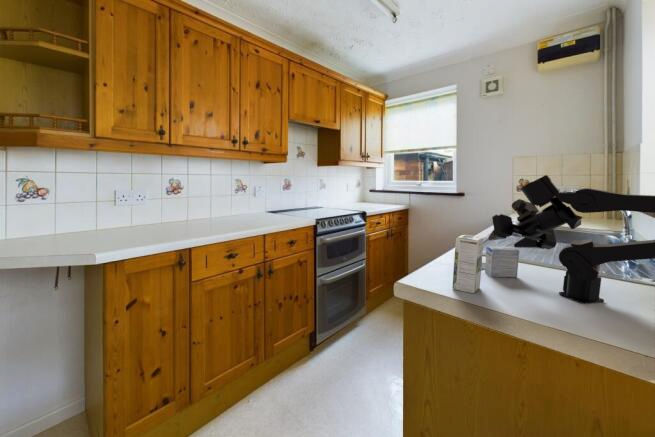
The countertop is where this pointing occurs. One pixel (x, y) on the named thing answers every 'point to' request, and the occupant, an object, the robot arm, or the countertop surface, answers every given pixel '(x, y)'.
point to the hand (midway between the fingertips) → (501, 242)
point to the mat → (483, 266)
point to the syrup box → (467, 263)
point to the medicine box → (501, 261)
